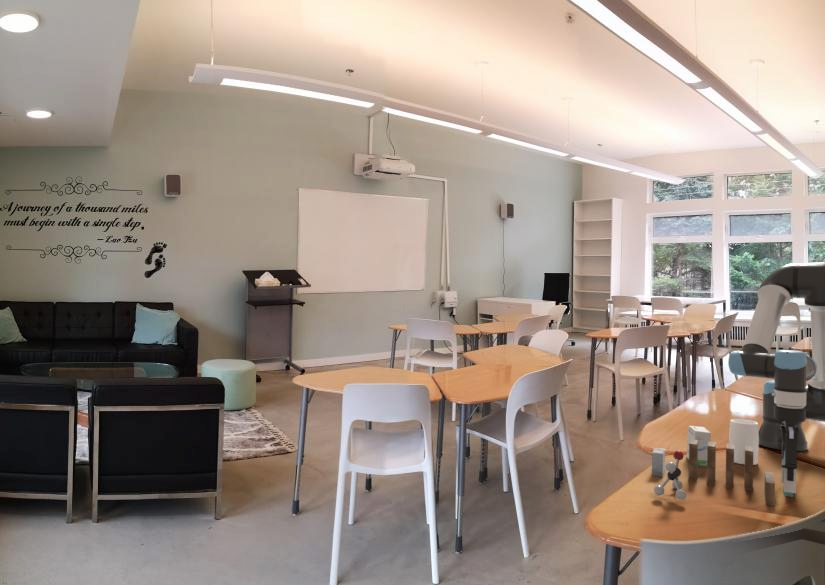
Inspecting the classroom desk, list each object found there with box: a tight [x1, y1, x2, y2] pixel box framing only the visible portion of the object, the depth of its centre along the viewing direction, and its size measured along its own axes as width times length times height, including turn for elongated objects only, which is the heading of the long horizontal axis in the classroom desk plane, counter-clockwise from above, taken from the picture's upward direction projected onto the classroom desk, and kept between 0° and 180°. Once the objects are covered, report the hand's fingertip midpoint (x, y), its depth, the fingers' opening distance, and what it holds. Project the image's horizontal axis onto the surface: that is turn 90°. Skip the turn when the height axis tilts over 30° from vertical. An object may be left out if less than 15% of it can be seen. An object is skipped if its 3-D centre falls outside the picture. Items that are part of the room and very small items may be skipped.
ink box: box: [686, 425, 712, 468], centre depth 189 cm, size 9×5×12 cm, turn 168°
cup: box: [728, 418, 760, 466], centre depth 190 cm, size 8×8×14 cm
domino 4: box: [743, 446, 754, 492], centre depth 168 cm, size 2×6×11 cm, turn 151°
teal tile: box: [782, 451, 795, 498], centre depth 163 cm, size 2×6×11 cm, turn 151°
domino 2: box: [706, 441, 717, 486], centre depth 172 cm, size 2×6×11 cm, turn 151°
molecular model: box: [653, 450, 687, 501], centre depth 162 cm, size 8×12×11 cm
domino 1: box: [688, 439, 699, 483], centre depth 175 cm, size 2×6×11 cm, turn 151°
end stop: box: [651, 446, 666, 478], centre depth 179 cm, size 3×7×7 cm, turn 151°
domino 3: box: [725, 443, 735, 489], centre depth 170 cm, size 2×6×11 cm, turn 151°
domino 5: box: [764, 471, 776, 507], centre depth 158 cm, size 2×6×11 cm
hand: (788, 487), depth 163 cm, fingers open, 8 cm apart
